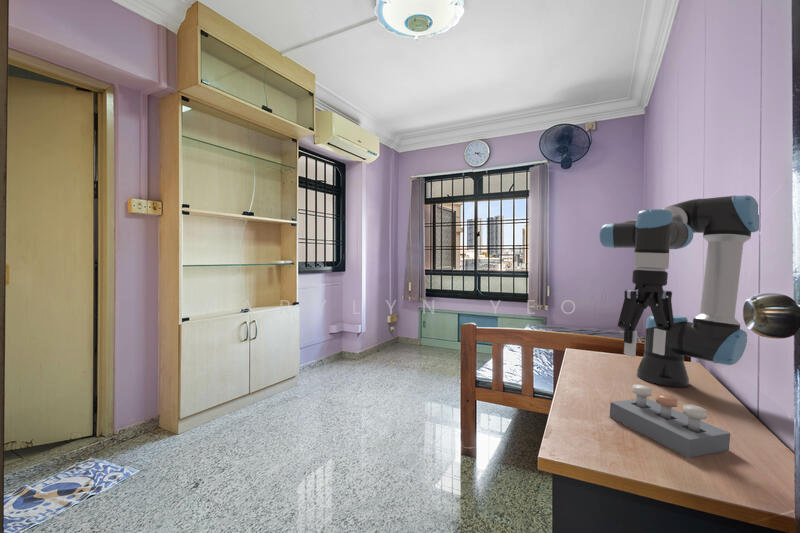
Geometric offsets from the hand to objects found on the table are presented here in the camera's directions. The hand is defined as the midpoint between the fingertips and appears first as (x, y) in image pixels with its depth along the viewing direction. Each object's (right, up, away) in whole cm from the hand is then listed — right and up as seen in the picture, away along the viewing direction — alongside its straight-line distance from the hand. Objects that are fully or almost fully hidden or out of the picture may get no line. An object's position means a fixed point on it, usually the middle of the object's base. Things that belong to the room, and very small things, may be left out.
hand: (644, 354), depth 96 cm
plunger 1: (-1, -14, +1) cm, 14 cm away
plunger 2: (+3, -15, -12) cm, 19 cm away
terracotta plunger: (+1, -14, -6) cm, 15 cm away
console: (+1, -18, -5) cm, 19 cm away
